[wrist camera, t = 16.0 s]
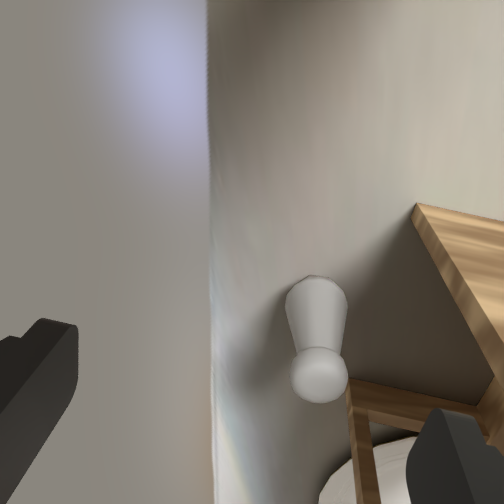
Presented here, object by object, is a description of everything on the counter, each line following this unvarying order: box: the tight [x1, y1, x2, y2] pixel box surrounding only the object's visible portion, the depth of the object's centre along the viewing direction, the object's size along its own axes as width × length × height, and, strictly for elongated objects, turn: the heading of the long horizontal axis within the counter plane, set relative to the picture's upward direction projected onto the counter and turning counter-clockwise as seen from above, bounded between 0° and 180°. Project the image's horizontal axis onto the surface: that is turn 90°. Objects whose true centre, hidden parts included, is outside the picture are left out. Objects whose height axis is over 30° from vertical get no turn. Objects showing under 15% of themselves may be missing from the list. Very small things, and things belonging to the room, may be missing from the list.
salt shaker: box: [285, 275, 348, 403], centre depth 38 cm, size 6×6×13 cm
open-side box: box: [345, 203, 504, 504], centre depth 33 cm, size 22×16×24 cm
